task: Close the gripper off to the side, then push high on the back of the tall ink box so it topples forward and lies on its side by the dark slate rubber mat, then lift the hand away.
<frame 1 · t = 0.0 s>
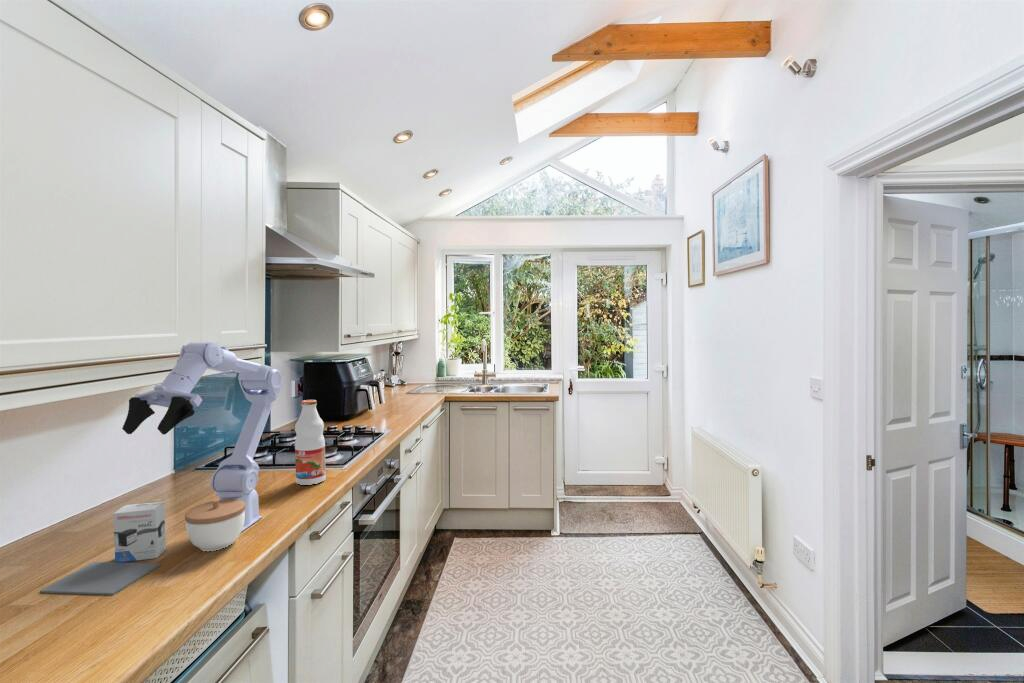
hand: (143, 431, 97), 32 cm above the worktop, tool tilted 50°, fingers open, 7 cm apart
fruit juice: (311, 482, 161), on the worktop
ink box: (141, 557, 110), on the worktop
lidded bowl: (217, 545, 116), on the worktop
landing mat: (103, 578, 101), on the worktop
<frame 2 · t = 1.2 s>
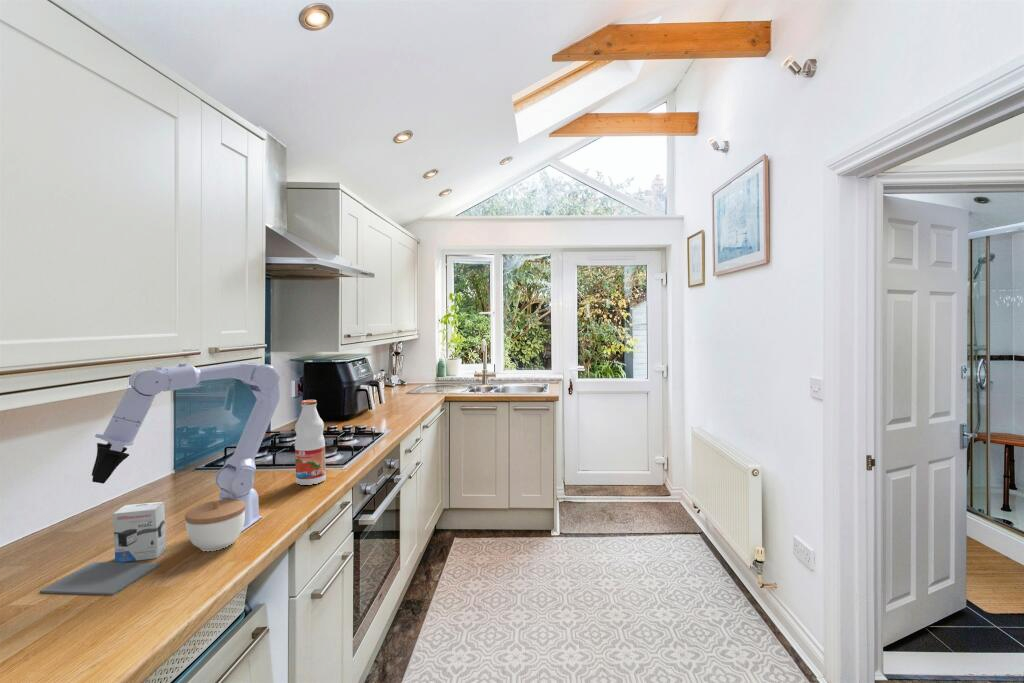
hand: (97, 479, 104), 20 cm above the worktop, tool tilted 25°, fingers open, 7 cm apart
nothing on the worktop moved.
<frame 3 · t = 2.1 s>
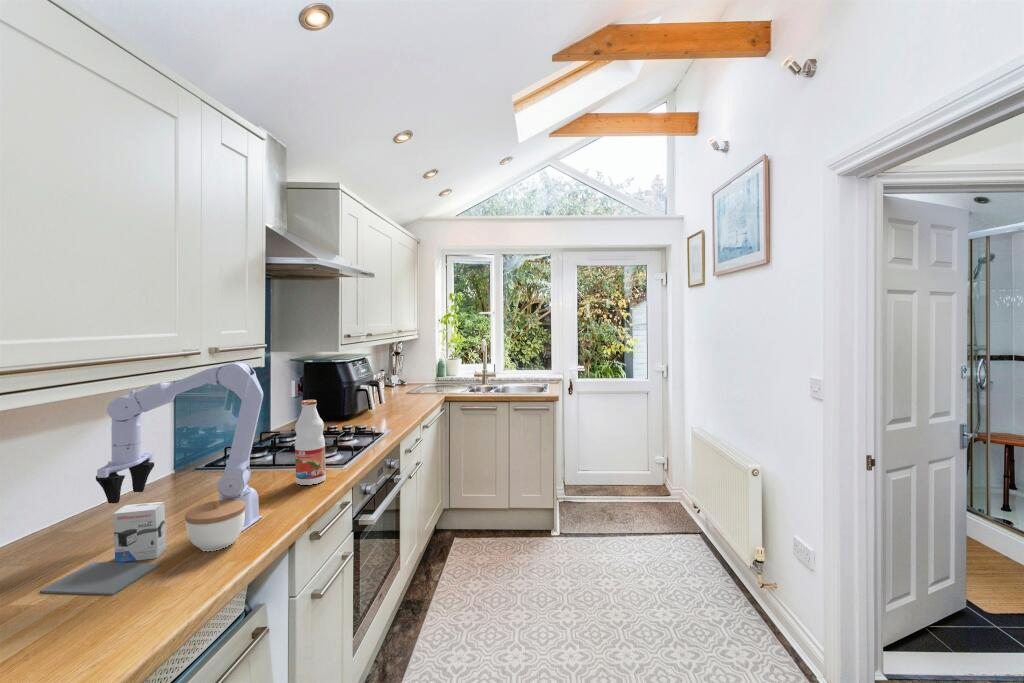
hand: (126, 497, 118), 11 cm above the worktop, tool pointing down, fingers open, 7 cm apart
nothing on the worktop moved.
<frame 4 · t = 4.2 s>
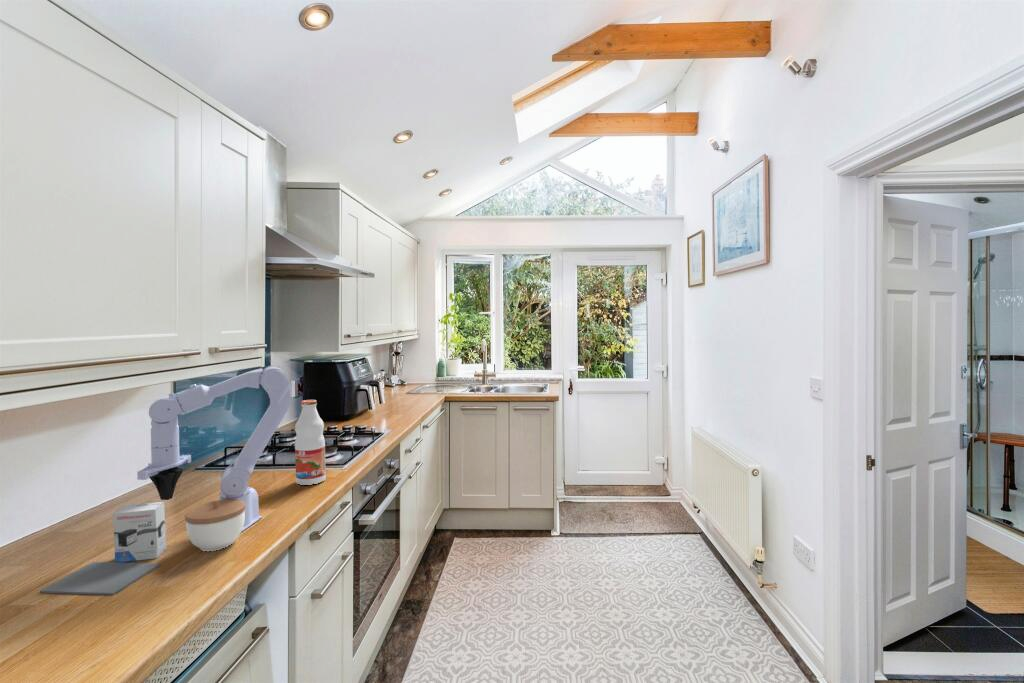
hand: (166, 498, 118), 10 cm above the worktop, tool pointing down, fingers closed
nothing on the worktop moved.
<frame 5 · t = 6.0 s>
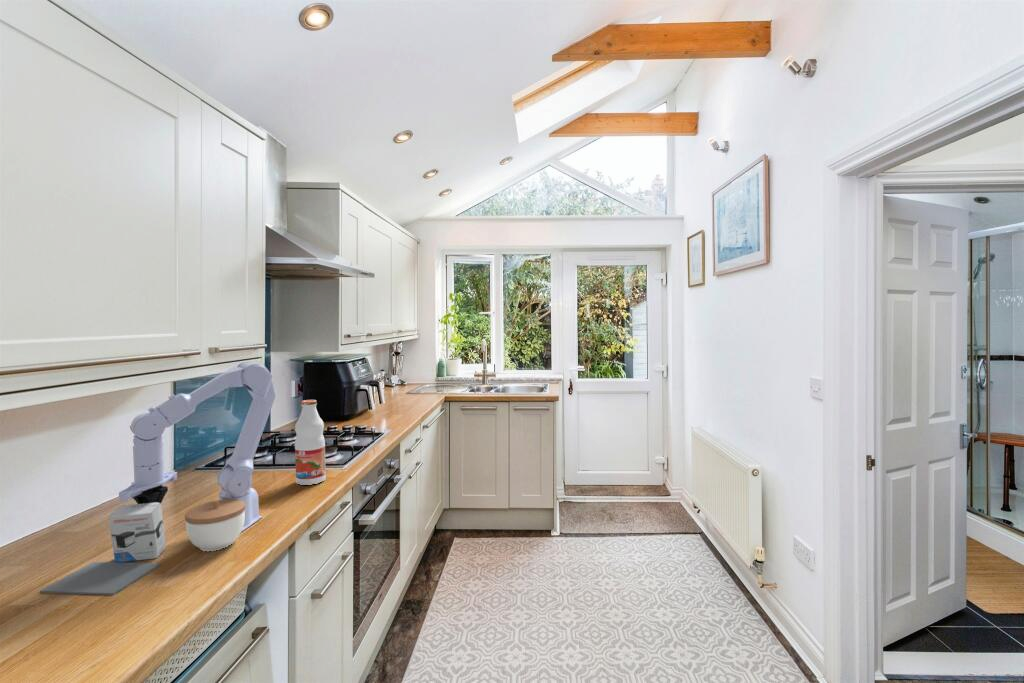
hand: (151, 519, 113), 7 cm above the worktop, tool pointing down, fingers closed
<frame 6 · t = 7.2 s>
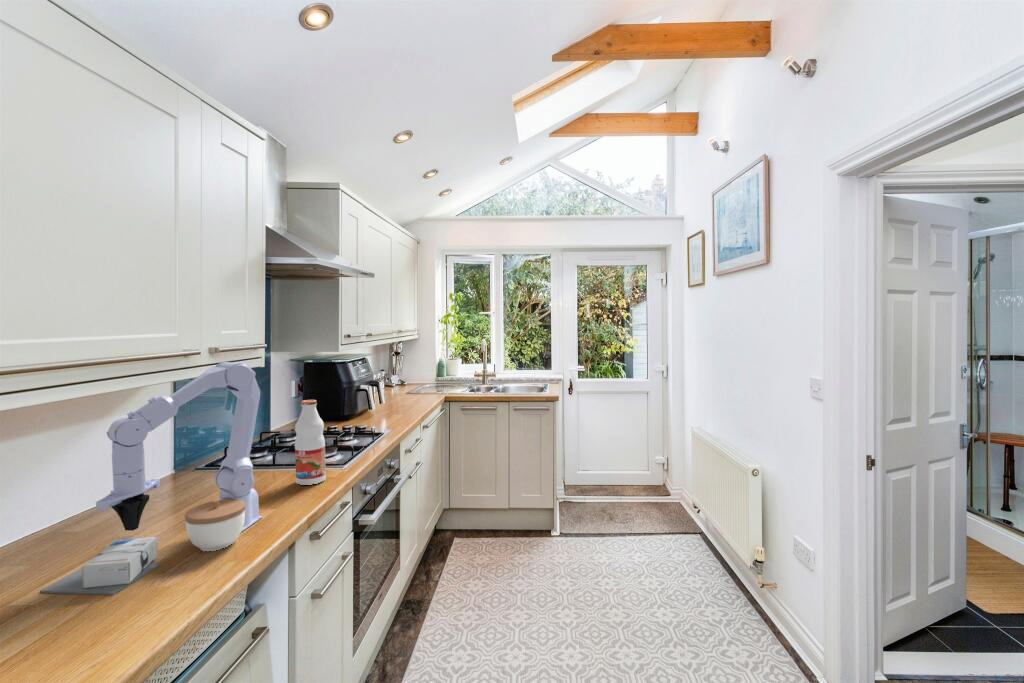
hand: (131, 529, 108), 7 cm above the worktop, tool pointing down, fingers closed
ink box: (137, 547, 108), point 3 cm above the worktop, touching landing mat
everything else where it was.
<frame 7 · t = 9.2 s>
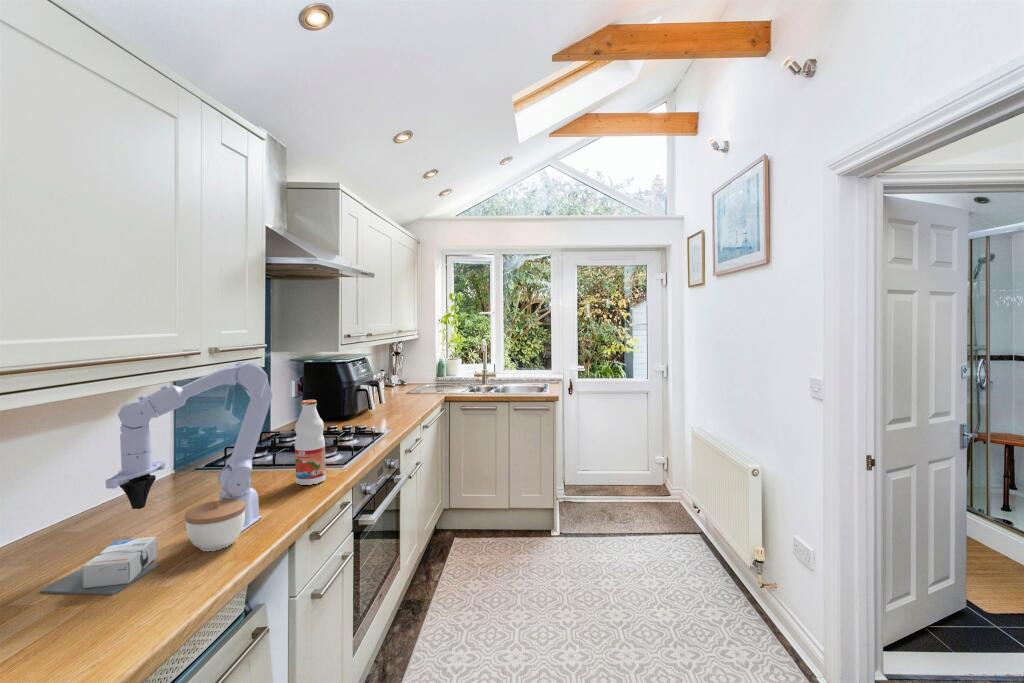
hand: (138, 507, 113), 10 cm above the worktop, tool pointing down, fingers closed
nothing on the worktop moved.
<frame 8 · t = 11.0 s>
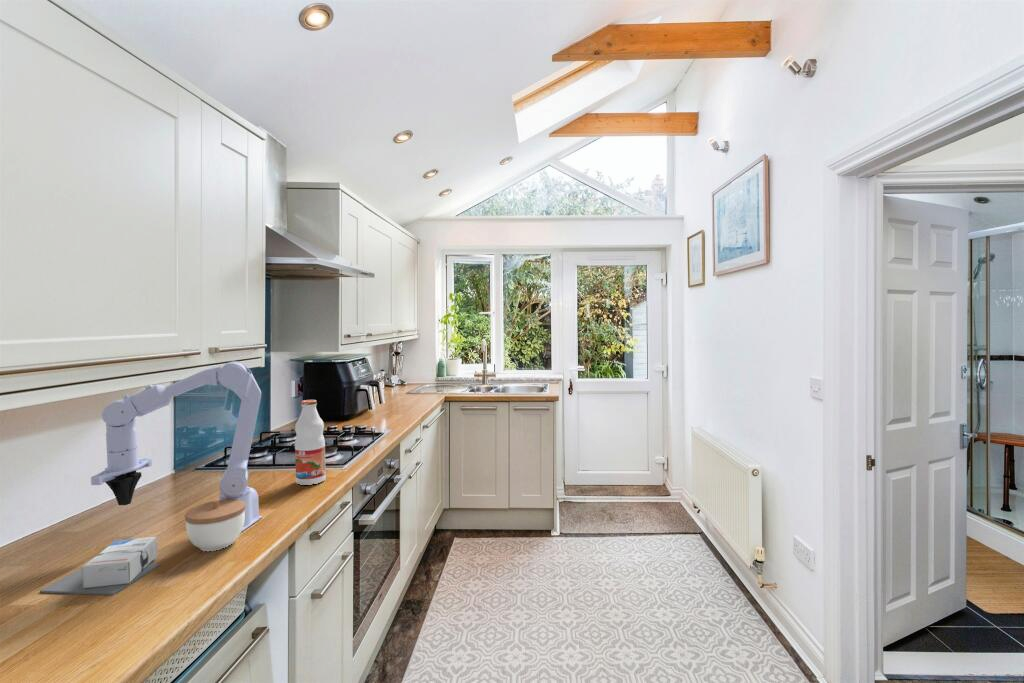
hand: (124, 504, 115), 10 cm above the worktop, tool pointing down, fingers closed
nothing on the worktop moved.
at the end: ink box tilted 90°; ink box inside the target area (4.5 cm from its centre), point 2.9 cm above the worktop; the gripper is holding nothing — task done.
